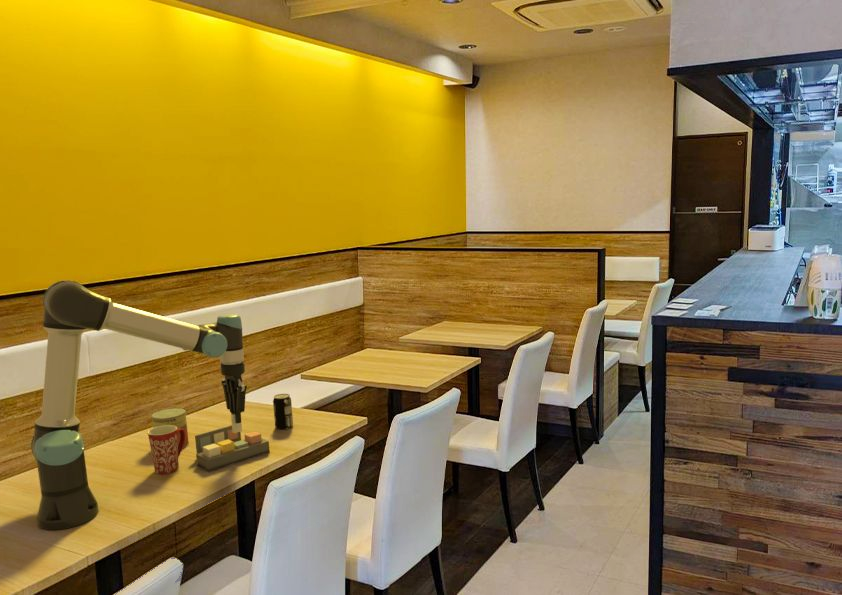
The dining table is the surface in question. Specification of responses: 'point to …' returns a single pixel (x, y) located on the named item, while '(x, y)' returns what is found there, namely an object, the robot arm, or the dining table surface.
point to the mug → (165, 447)
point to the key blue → (240, 444)
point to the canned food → (172, 421)
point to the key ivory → (211, 450)
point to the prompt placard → (216, 437)
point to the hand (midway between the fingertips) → (237, 431)
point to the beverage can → (282, 411)
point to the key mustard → (226, 446)
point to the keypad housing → (232, 456)
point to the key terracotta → (253, 437)
